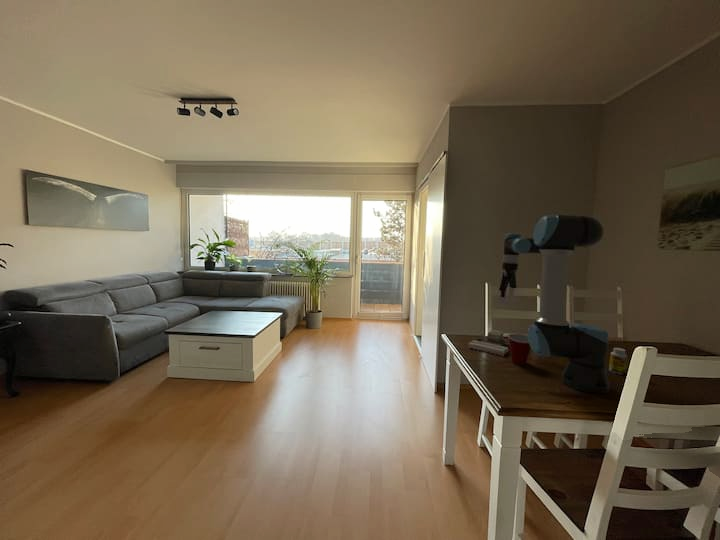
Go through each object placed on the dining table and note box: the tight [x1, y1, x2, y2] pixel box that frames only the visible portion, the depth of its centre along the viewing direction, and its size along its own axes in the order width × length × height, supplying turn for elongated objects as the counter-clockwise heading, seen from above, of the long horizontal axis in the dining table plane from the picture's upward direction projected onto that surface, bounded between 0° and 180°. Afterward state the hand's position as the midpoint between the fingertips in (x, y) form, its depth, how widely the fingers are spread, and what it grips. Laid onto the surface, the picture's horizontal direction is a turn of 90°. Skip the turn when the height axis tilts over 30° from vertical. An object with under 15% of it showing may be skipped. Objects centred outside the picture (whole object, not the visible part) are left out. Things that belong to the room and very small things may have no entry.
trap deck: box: [468, 334, 511, 357], centre depth 167 cm, size 20×17×2 cm
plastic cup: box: [507, 333, 531, 366], centre depth 146 cm, size 11×11×12 cm
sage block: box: [487, 329, 504, 343], centre depth 171 cm, size 7×6×4 cm
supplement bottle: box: [608, 347, 628, 375], centre depth 138 cm, size 6×6×10 cm
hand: (506, 301), depth 176 cm, fingers open, 13 cm apart
